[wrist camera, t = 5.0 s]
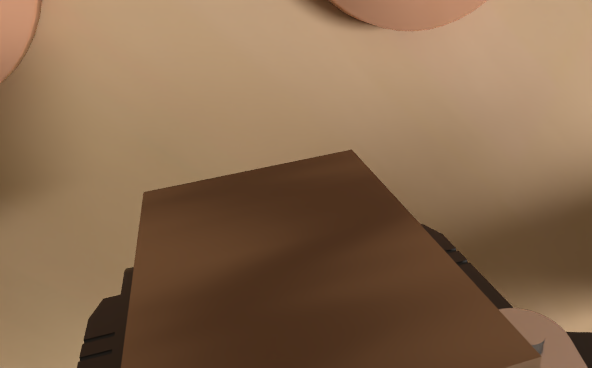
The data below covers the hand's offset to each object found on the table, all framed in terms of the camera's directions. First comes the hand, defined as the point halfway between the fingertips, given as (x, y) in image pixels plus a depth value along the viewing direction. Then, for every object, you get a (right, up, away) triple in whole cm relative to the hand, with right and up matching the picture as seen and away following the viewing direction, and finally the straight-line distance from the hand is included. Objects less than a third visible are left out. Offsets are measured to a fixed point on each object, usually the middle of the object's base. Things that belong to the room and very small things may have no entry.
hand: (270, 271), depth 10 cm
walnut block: (0, 0, +1) cm, 1 cm away
